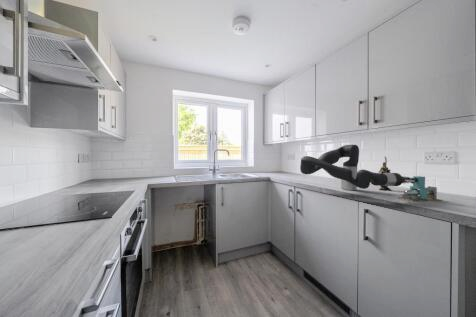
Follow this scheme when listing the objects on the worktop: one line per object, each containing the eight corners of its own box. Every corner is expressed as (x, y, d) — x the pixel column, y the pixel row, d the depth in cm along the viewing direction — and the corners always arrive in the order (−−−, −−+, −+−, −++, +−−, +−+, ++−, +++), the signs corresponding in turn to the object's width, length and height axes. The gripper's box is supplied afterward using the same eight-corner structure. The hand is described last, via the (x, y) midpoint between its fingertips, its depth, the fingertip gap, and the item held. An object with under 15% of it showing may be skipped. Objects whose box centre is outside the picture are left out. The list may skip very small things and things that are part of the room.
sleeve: (421, 199, 107) (422, 177, 107) (409, 196, 114) (410, 175, 114) (427, 199, 108) (428, 177, 108) (415, 196, 114) (416, 175, 114)
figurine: (376, 189, 143) (377, 156, 143) (384, 188, 147) (385, 156, 147) (385, 191, 138) (386, 156, 137) (394, 190, 141) (395, 156, 141)
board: (411, 201, 106) (411, 200, 106) (397, 198, 114) (397, 197, 114) (442, 201, 108) (442, 199, 108) (426, 197, 116) (426, 196, 116)
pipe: (409, 199, 108) (409, 187, 108) (402, 198, 112) (402, 186, 112) (436, 199, 110) (437, 187, 110) (429, 197, 114) (429, 186, 114)
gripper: (379, 184, 115) (404, 184, 117) (400, 188, 102) (428, 188, 104) (379, 171, 115) (404, 172, 117) (401, 174, 102) (429, 174, 104)
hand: (415, 179), depth 110 cm, fingers closed
